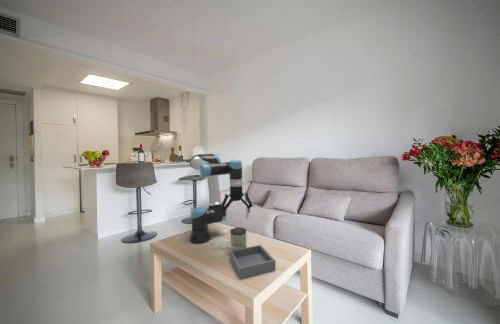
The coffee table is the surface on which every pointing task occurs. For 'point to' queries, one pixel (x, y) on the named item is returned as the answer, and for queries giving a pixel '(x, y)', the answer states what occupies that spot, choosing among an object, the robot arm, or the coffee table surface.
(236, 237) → the coffee can
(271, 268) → the bin
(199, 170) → the robot arm
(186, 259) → the coffee table surface
